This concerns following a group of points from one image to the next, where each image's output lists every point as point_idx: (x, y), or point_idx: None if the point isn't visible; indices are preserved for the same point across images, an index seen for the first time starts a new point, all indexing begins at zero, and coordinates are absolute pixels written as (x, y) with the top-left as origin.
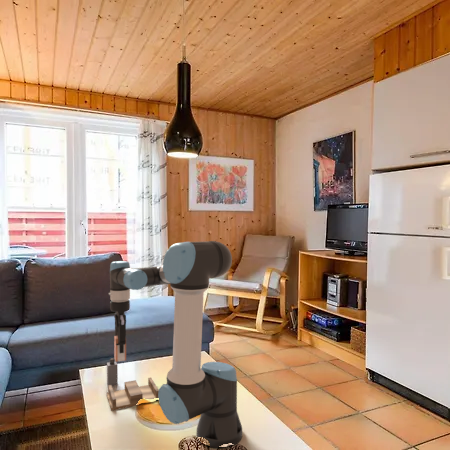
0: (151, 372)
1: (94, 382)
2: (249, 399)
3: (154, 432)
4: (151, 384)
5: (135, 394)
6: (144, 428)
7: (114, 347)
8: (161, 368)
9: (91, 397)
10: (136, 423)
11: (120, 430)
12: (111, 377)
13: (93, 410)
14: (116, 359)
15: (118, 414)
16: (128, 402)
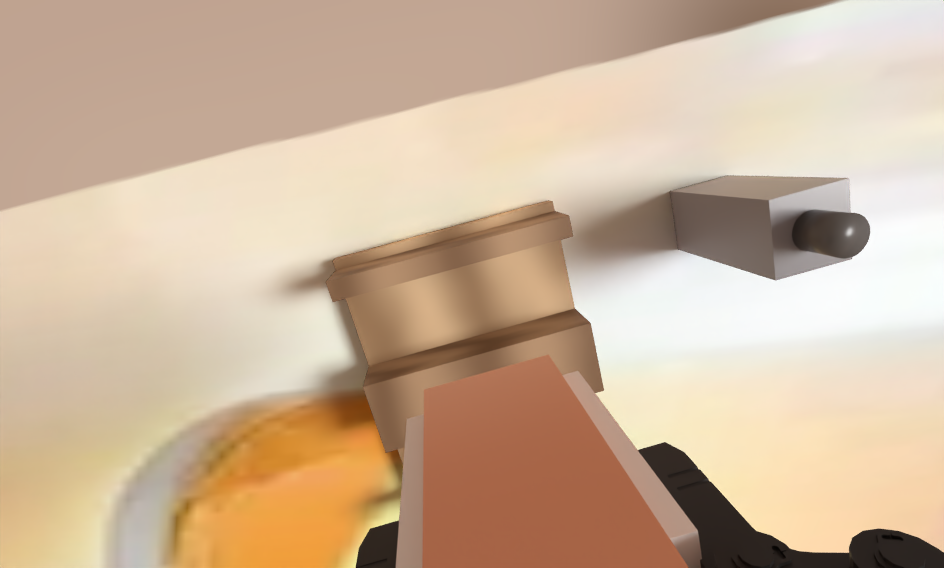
0: (795, 429)
1: (766, 85)
2: None
3: (84, 497)
4: None
5: (384, 412)
6: (124, 450)
7: (581, 444)
8: (831, 478)
9: (536, 103)
10: (177, 408)
11: (105, 338)
12: (706, 218)
13: (352, 148)
14: (425, 411)
15: (285, 304)
16: (390, 351)
